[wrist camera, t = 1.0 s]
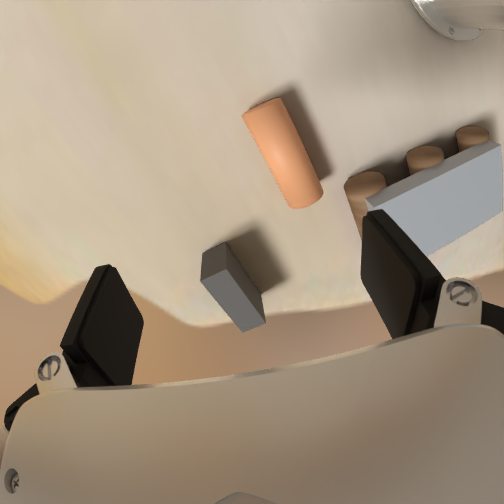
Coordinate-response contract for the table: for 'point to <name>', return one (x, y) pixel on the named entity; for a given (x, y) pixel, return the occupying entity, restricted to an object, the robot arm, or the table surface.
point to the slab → (446, 197)
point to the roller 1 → (284, 153)
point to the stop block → (232, 287)
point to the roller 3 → (471, 137)
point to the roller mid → (423, 158)
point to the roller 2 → (362, 193)
